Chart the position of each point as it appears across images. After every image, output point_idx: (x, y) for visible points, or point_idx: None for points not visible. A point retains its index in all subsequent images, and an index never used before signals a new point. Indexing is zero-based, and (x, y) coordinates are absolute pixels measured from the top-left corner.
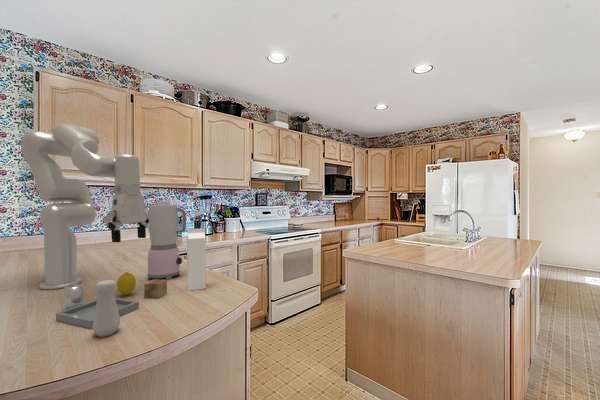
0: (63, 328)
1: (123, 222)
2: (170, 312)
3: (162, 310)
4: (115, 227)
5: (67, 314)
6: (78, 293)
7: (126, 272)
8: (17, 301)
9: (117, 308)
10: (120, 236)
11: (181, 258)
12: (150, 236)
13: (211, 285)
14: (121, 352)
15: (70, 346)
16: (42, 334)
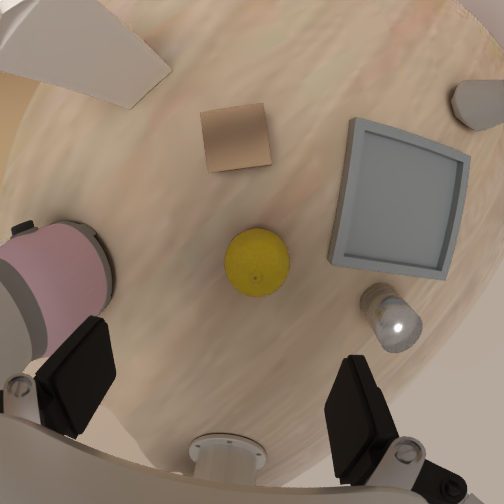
0: (464, 219)
1: (404, 492)
2: (347, 23)
3: (343, 47)
4: (424, 458)
5: (450, 246)
6: (403, 302)
7: (257, 276)
8: None
9: (479, 83)
10: (355, 386)
11: (12, 227)
12: None
13: None
14: (486, 46)
15: (501, 139)
16: (481, 235)
